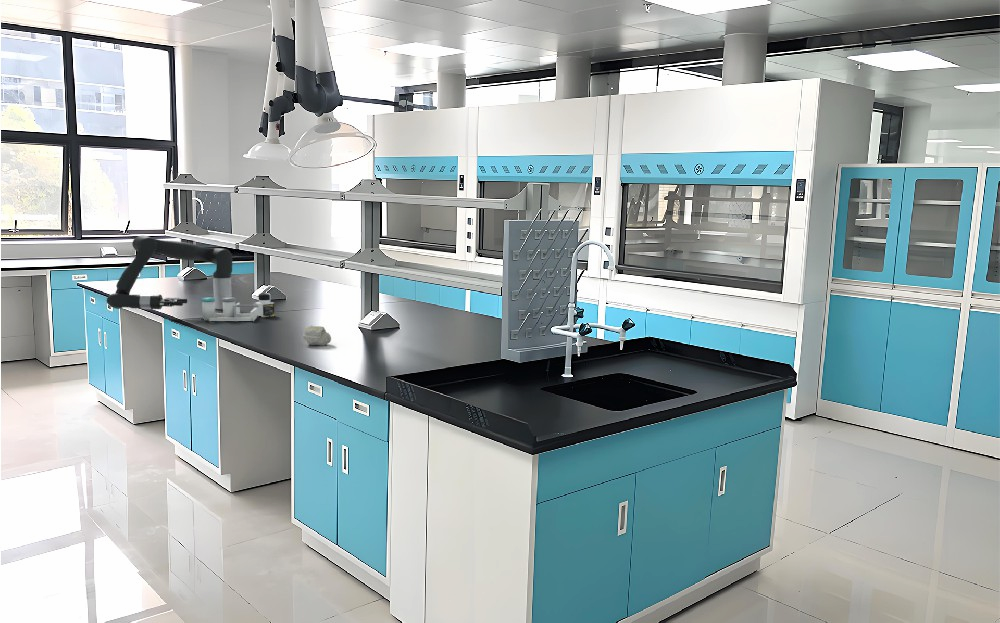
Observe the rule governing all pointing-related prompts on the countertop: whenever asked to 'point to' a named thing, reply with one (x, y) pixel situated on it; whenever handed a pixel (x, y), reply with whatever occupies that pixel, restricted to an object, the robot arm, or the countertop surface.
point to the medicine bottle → (265, 305)
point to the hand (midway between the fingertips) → (185, 302)
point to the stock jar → (228, 306)
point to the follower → (237, 308)
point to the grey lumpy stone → (316, 336)
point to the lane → (243, 317)
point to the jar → (208, 307)
